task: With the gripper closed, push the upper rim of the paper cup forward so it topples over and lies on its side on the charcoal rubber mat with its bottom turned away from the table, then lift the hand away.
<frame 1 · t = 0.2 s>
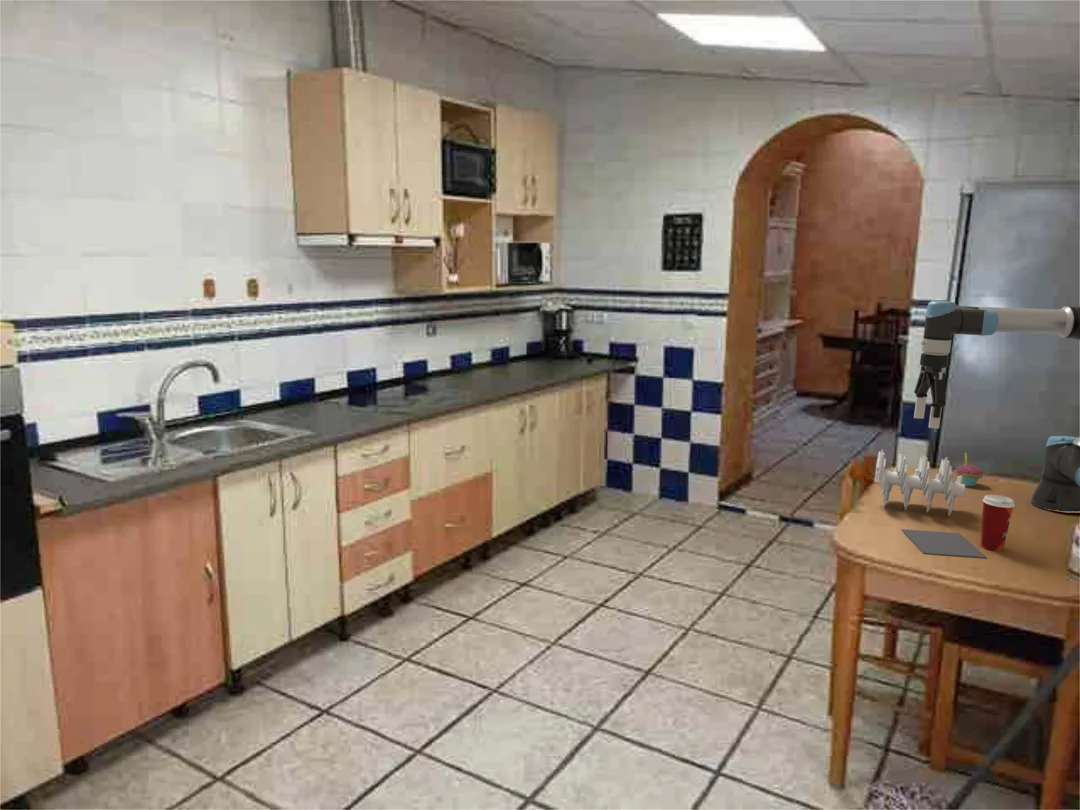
hand: (926, 423, 242), 28 cm above the table, tool pointing down, fingers open, 13 cm apart
paper cup: (991, 547, 219), on the table
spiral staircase: (915, 510, 249), on the table
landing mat: (941, 543, 220), on the table
cupcake: (966, 485, 278), on the table
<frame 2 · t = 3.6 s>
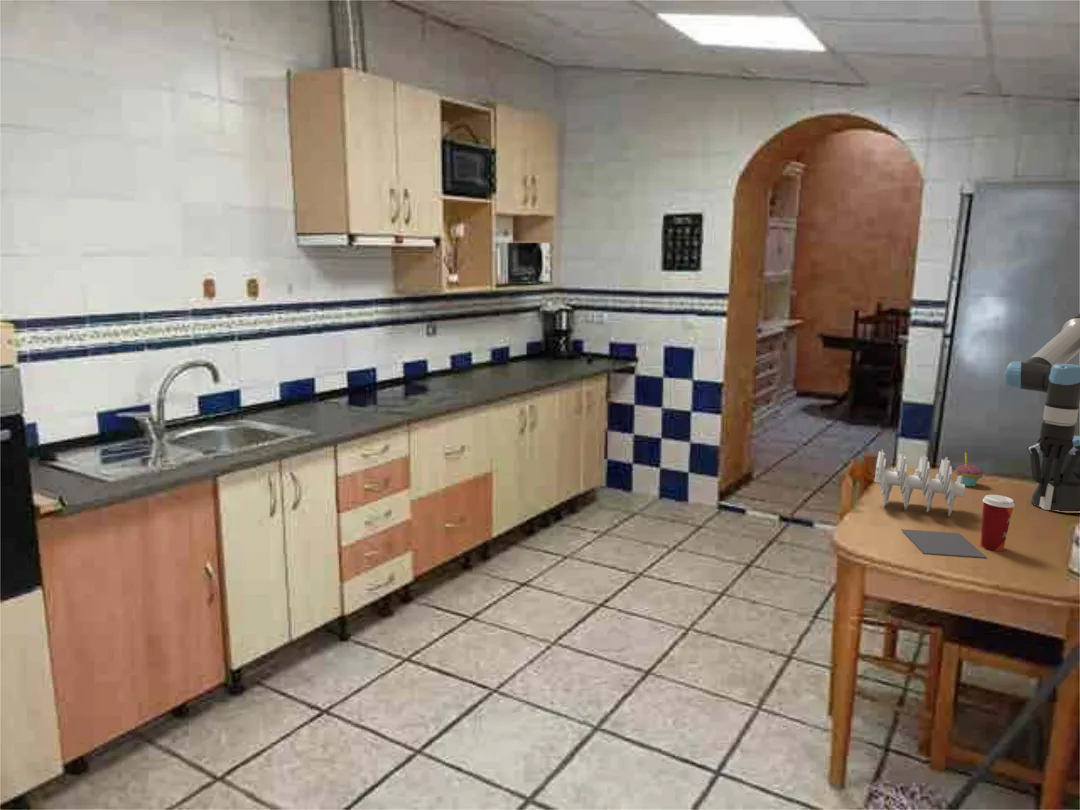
hand: (1044, 508, 215), 12 cm above the table, tool pointing down, fingers closed
nothing on the table moved.
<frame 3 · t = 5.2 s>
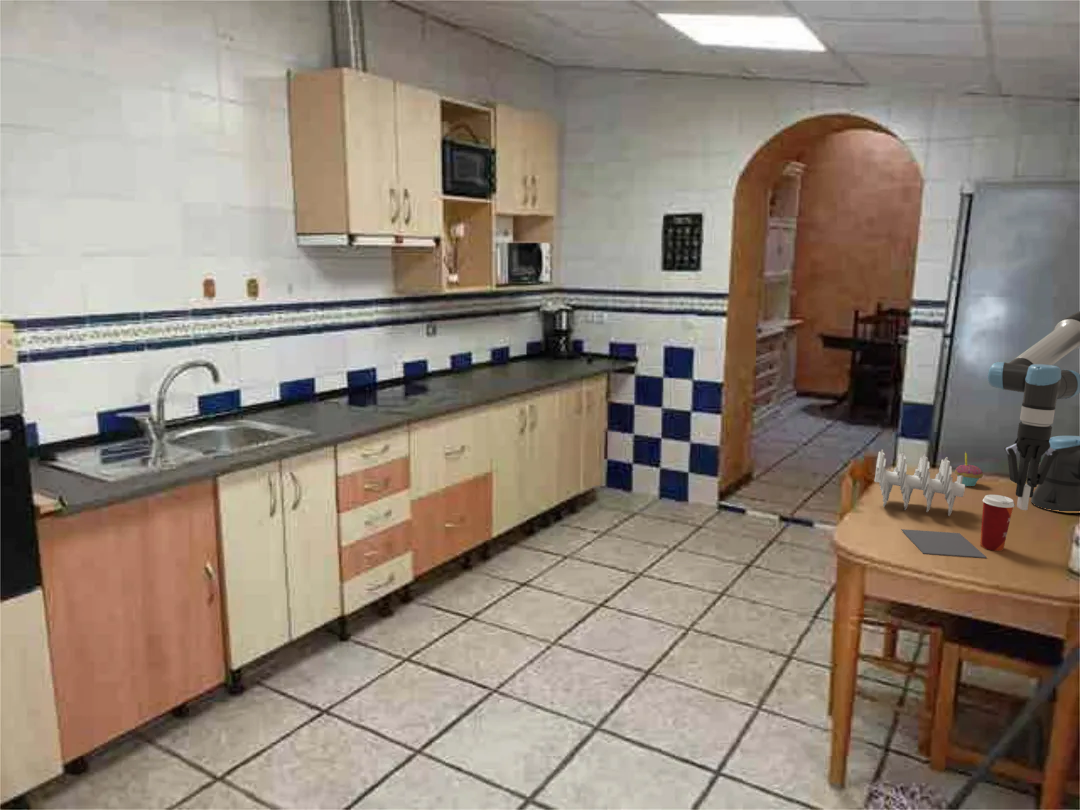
hand: (1021, 508, 216), 12 cm above the table, tool pointing down, fingers closed
nothing on the table moved.
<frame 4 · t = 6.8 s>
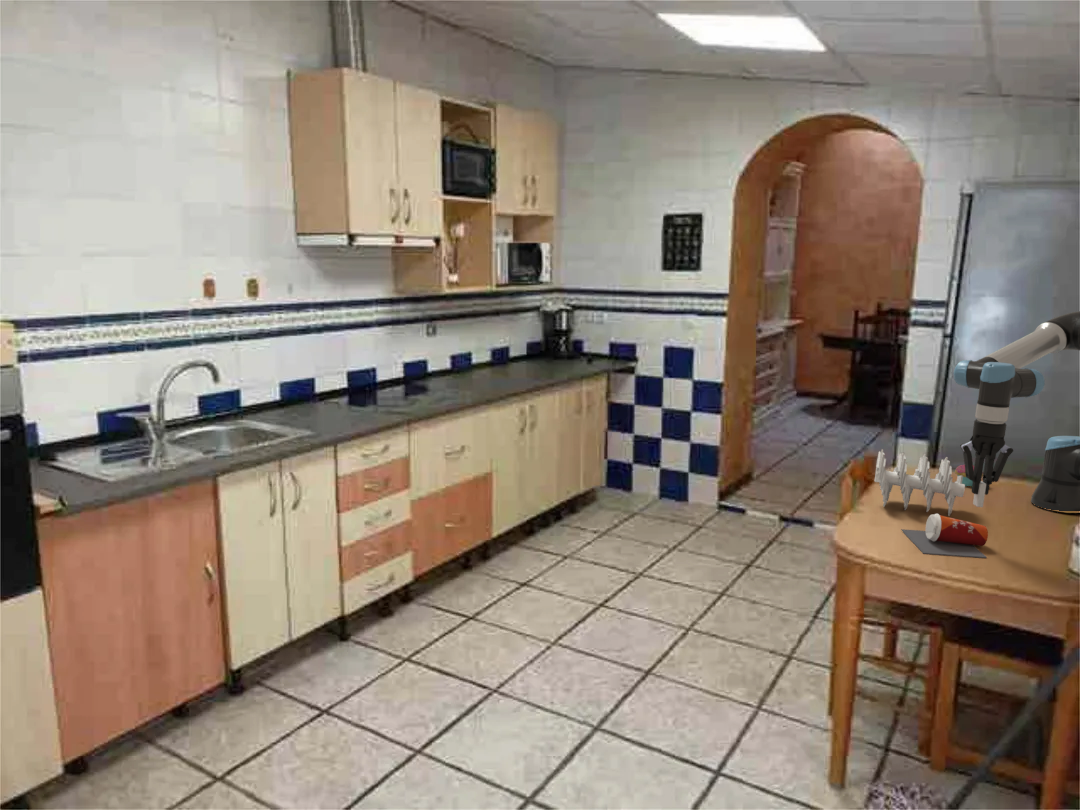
hand: (977, 505, 217), 12 cm above the table, tool pointing down, fingers closed
paper cup: (983, 535, 219), point 3 cm above the table, touching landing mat
everything else where it was.
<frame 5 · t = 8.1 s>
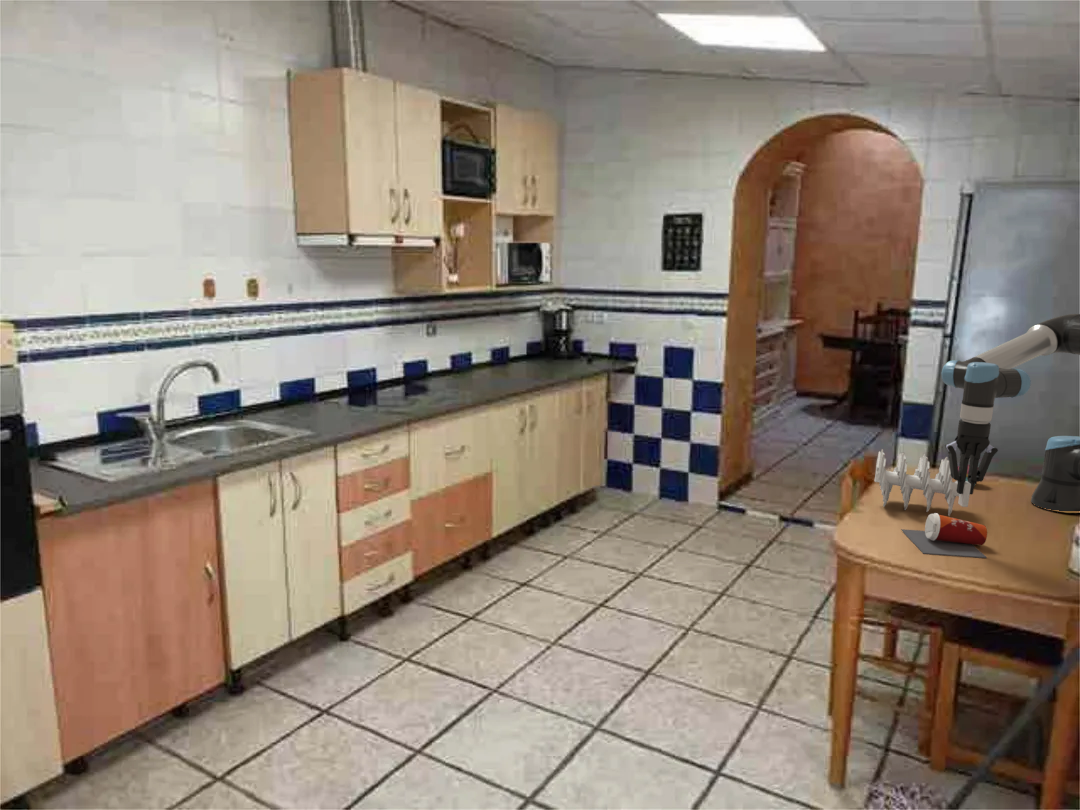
hand: (962, 505, 218), 11 cm above the table, tool pointing down, fingers closed
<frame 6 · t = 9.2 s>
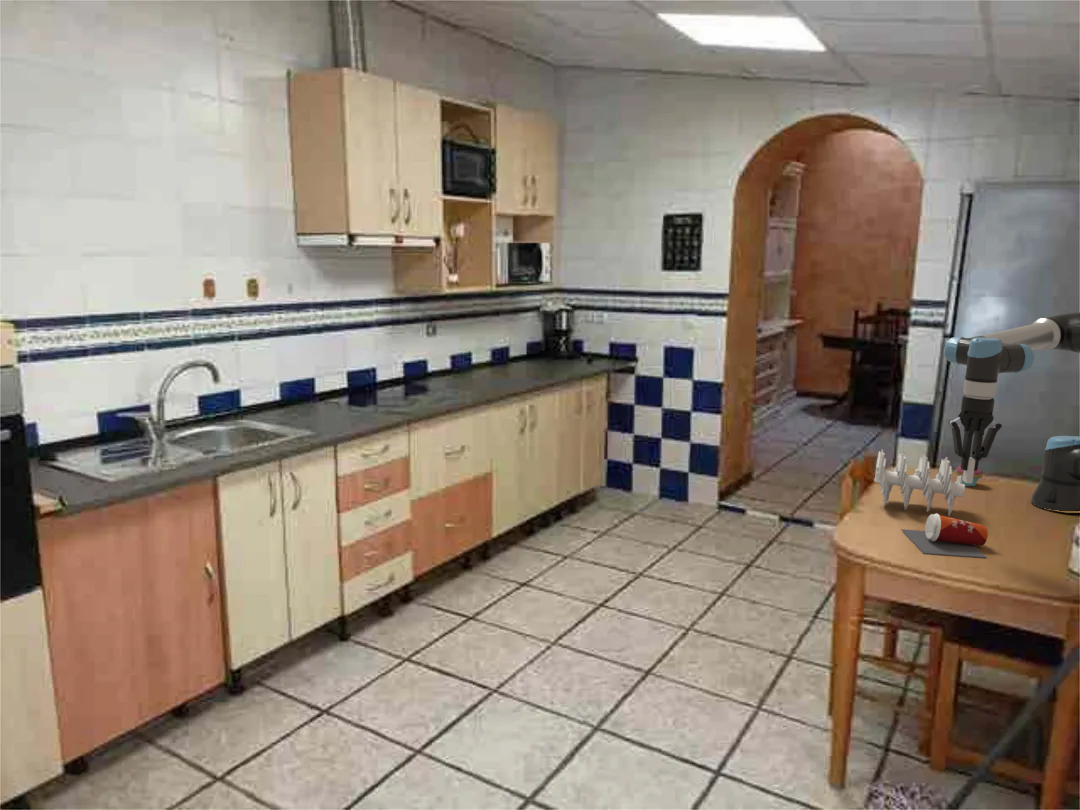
hand: (967, 481, 216), 18 cm above the table, tool pointing down, fingers closed
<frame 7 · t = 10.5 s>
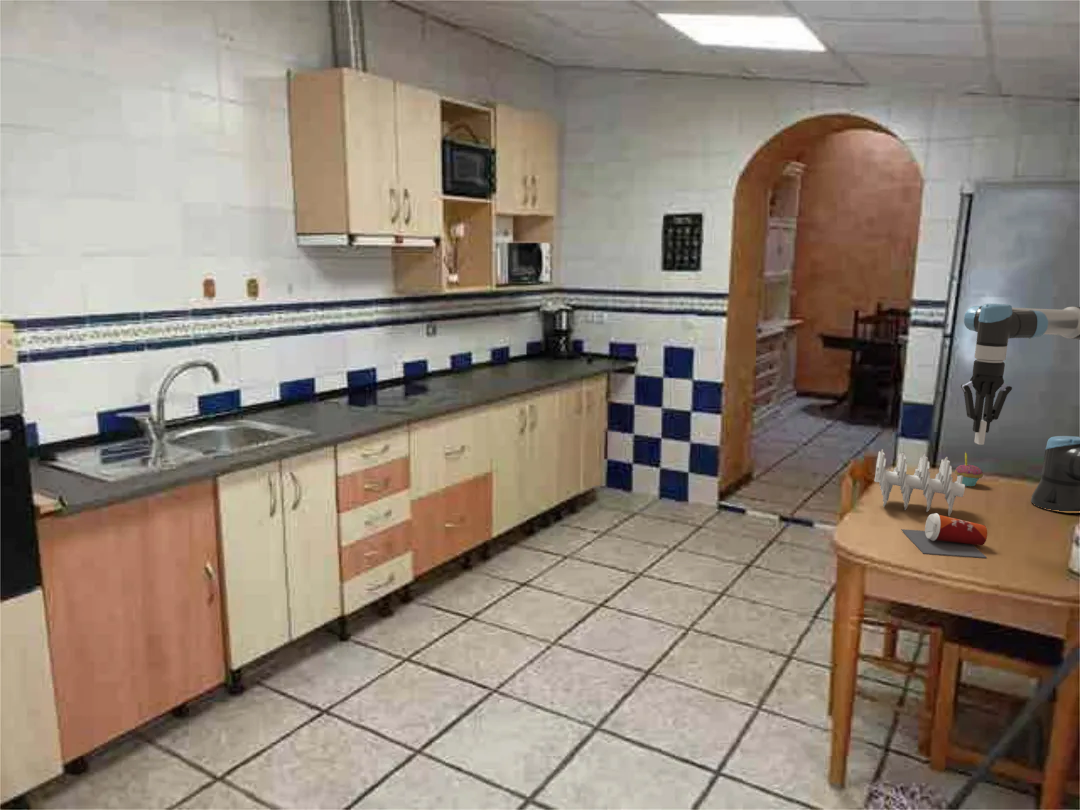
hand: (979, 443, 225), 26 cm above the table, tool pointing down, fingers closed
nothing on the table moved.
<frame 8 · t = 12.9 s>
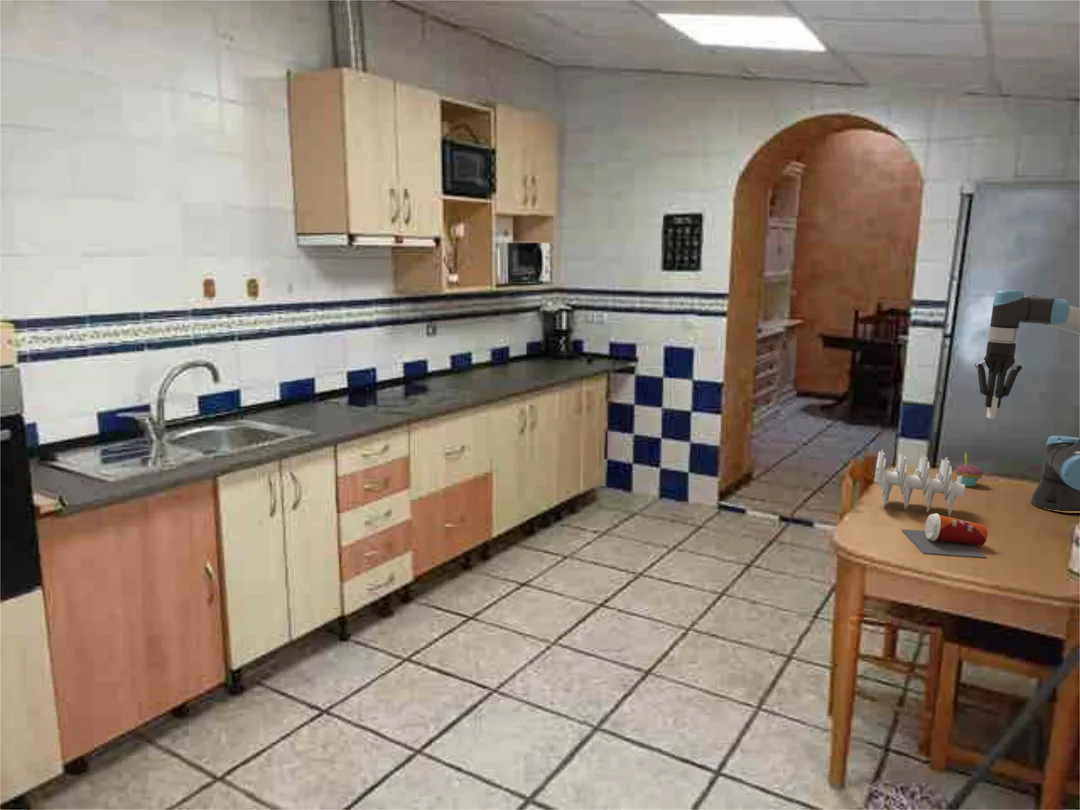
hand: (990, 417, 245), 29 cm above the table, tool pointing down, fingers closed
nothing on the table moved.
at the end: paper cup tilted 84°; paper cup inside the target area (9.1 cm from its centre), point 3.0 cm above the table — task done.
